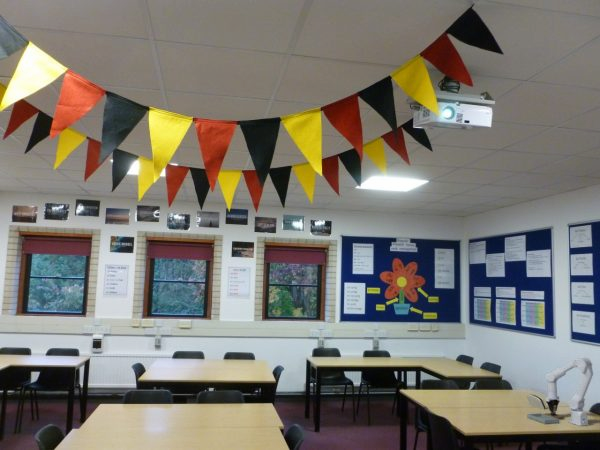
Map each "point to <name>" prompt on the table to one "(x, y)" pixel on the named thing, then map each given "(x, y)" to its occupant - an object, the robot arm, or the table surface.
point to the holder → (555, 416)
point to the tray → (543, 418)
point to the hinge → (536, 401)
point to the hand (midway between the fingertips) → (553, 411)
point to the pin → (554, 411)
